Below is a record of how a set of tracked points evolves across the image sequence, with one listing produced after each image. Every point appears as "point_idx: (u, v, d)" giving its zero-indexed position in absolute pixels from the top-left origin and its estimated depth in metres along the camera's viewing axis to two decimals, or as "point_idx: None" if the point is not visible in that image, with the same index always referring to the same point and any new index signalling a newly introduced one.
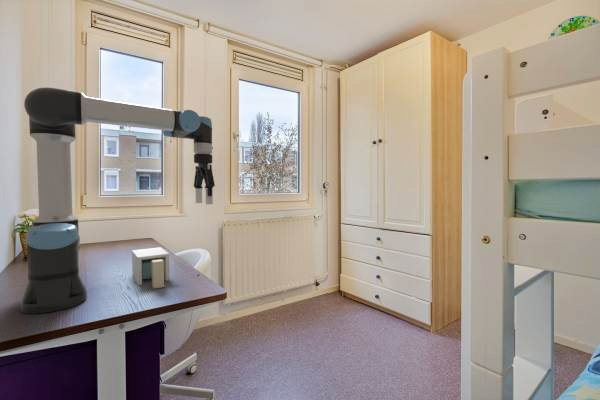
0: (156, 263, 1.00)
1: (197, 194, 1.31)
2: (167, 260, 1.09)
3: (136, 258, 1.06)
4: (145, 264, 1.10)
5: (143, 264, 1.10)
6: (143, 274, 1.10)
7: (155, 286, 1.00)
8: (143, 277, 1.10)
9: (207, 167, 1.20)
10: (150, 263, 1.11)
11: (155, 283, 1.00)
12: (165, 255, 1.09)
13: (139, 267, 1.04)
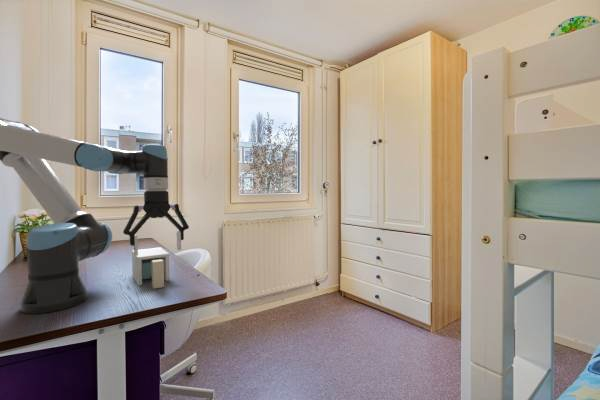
0: (156, 263, 1.00)
1: (177, 238, 1.05)
2: (167, 260, 1.09)
3: (136, 258, 1.06)
4: (145, 264, 1.10)
5: (143, 264, 1.10)
6: (143, 274, 1.10)
7: (155, 286, 1.00)
8: (143, 277, 1.10)
9: None
10: (150, 263, 1.11)
11: (155, 283, 1.00)
12: (165, 255, 1.09)
13: (139, 267, 1.04)
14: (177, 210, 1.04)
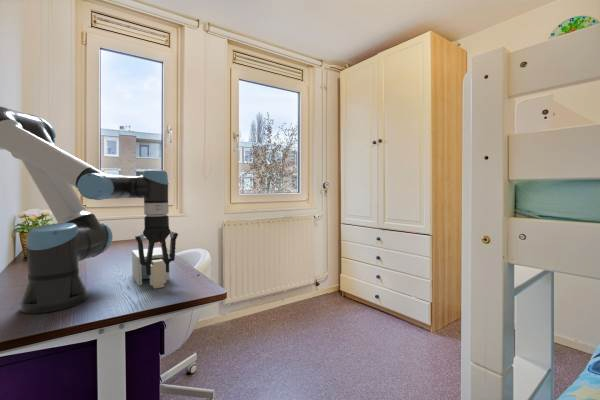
0: (156, 263, 1.00)
1: None
2: None
3: (136, 258, 1.06)
4: None
5: None
6: (143, 274, 1.10)
7: (155, 286, 1.00)
8: (143, 277, 1.10)
9: (136, 240, 0.98)
10: None
11: (155, 283, 1.00)
12: None
13: (139, 267, 1.04)
14: (173, 239, 1.03)
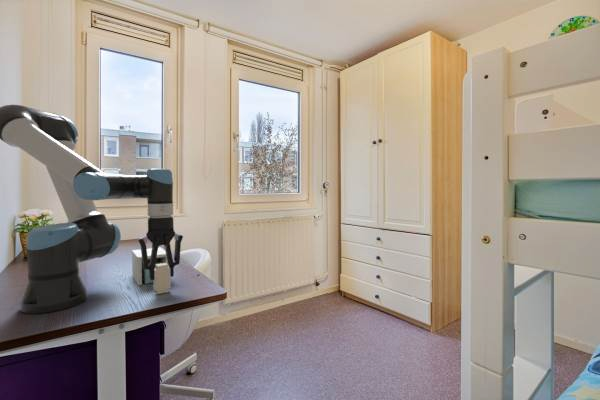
0: (160, 267, 0.94)
1: None
2: None
3: (136, 258, 1.06)
4: None
5: None
6: (146, 278, 1.05)
7: (159, 291, 0.94)
8: (146, 281, 1.05)
9: None
10: None
11: (159, 288, 0.94)
12: (165, 255, 1.09)
13: (139, 267, 1.04)
14: (178, 241, 0.98)
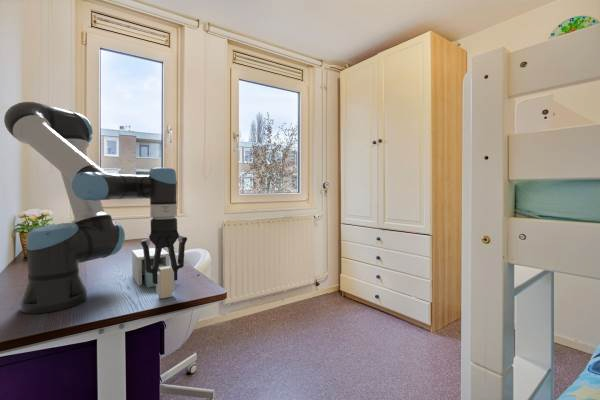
0: (163, 270, 0.91)
1: None
2: (167, 260, 1.09)
3: (136, 258, 1.06)
4: None
5: None
6: (148, 282, 1.01)
7: (162, 296, 0.91)
8: (148, 285, 1.01)
9: (142, 245, 0.89)
10: None
11: (162, 292, 0.91)
12: (165, 255, 1.09)
13: (139, 267, 1.04)
14: (182, 244, 0.94)
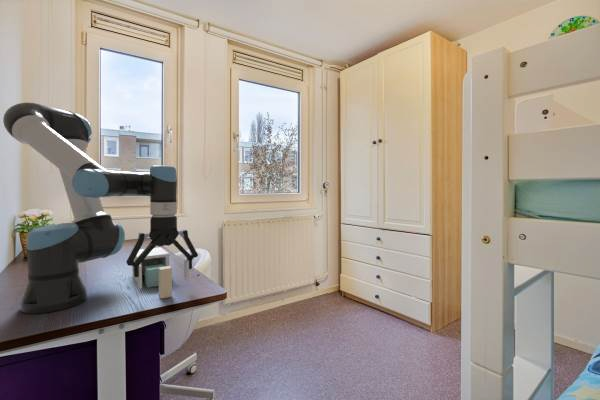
0: (163, 270, 0.90)
1: (184, 267, 0.97)
2: (167, 260, 1.09)
3: (136, 258, 1.06)
4: (151, 271, 1.01)
5: (149, 271, 1.01)
6: (149, 282, 1.01)
7: (162, 296, 0.90)
8: (149, 285, 1.01)
9: (138, 237, 0.88)
10: (156, 270, 1.02)
11: (162, 293, 0.90)
12: (165, 255, 1.09)
13: None
14: (186, 237, 0.95)
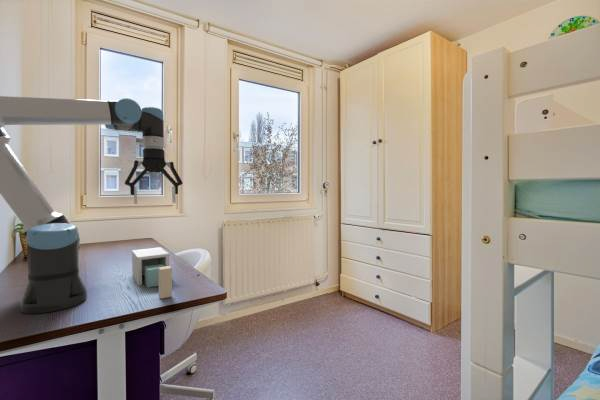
0: (163, 270, 0.90)
1: (172, 193, 1.19)
2: (167, 260, 1.09)
3: (136, 258, 1.06)
4: (151, 271, 1.01)
5: (149, 271, 1.01)
6: (149, 282, 1.01)
7: (162, 296, 0.90)
8: (149, 285, 1.01)
9: None
10: (156, 270, 1.02)
11: (162, 293, 0.90)
12: (165, 255, 1.09)
13: (139, 267, 1.04)
14: (172, 167, 1.17)
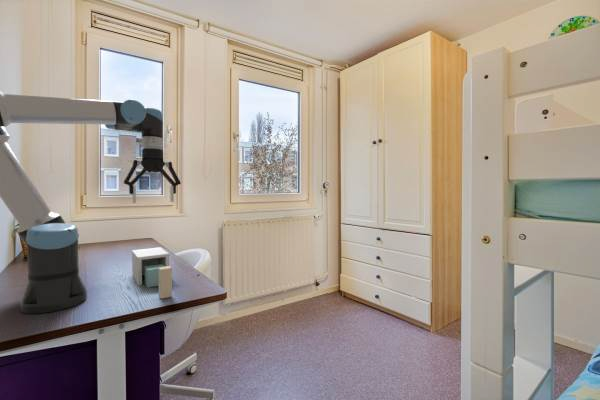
0: (163, 270, 0.90)
1: (170, 192, 1.22)
2: (167, 260, 1.09)
3: (136, 258, 1.06)
4: (151, 271, 1.01)
5: (149, 271, 1.01)
6: (149, 282, 1.01)
7: (162, 296, 0.90)
8: (149, 285, 1.01)
9: (133, 163, 1.13)
10: (156, 270, 1.02)
11: (162, 293, 0.90)
12: (165, 255, 1.09)
13: (139, 267, 1.04)
14: (170, 167, 1.20)
